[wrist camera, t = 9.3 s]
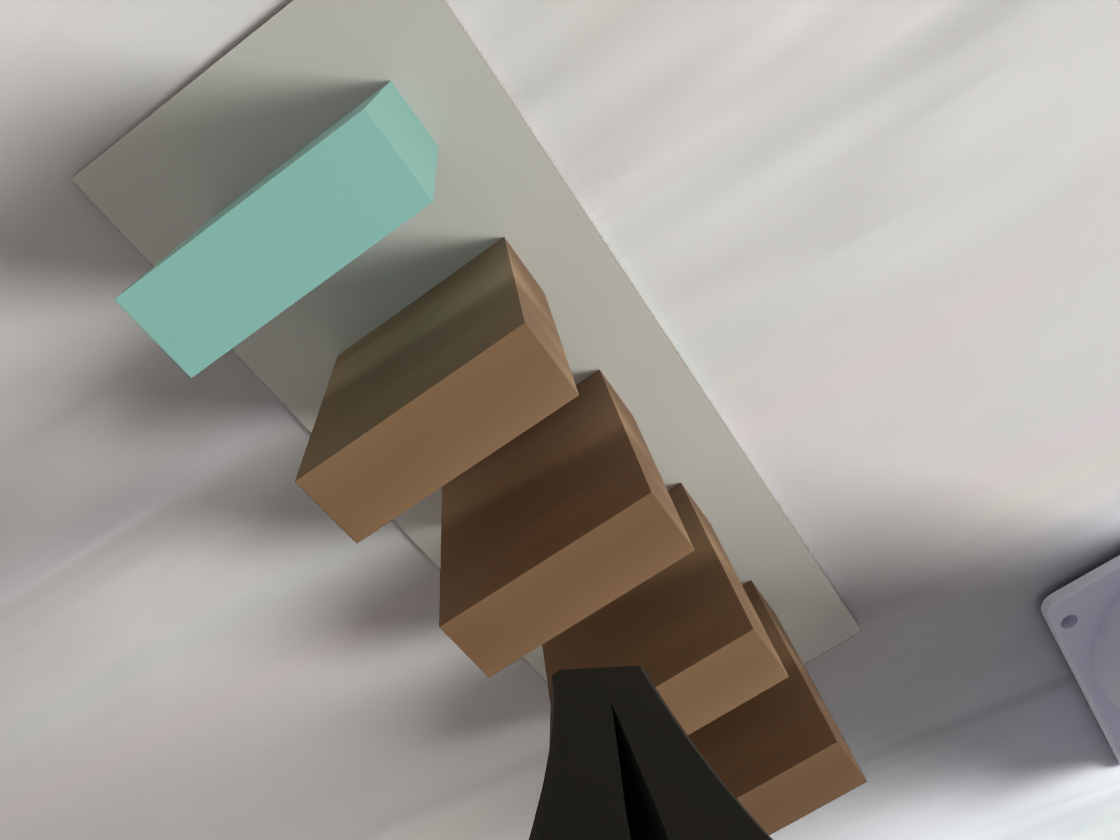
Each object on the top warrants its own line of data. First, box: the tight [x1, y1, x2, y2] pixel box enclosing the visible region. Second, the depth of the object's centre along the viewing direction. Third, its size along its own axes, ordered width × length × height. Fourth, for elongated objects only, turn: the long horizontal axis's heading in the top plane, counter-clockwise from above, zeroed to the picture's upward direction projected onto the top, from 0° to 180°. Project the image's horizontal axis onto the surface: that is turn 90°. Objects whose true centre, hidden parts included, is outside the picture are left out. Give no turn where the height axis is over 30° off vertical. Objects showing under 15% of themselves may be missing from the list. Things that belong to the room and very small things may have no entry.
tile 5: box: [114, 81, 438, 378], centre depth 16 cm, size 2×5×6 cm, turn 124°
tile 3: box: [439, 370, 695, 677], centre depth 19 cm, size 2×5×6 cm, turn 124°
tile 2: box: [542, 483, 789, 735], centre depth 20 cm, size 2×5×6 cm, turn 124°
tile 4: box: [295, 237, 579, 543], centre depth 17 cm, size 2×5×6 cm, turn 124°
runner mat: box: [71, 0, 862, 683], centre depth 22 cm, size 22×8×1 cm, turn 34°
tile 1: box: [688, 581, 867, 835], centre depth 22 cm, size 2×5×6 cm, turn 124°
